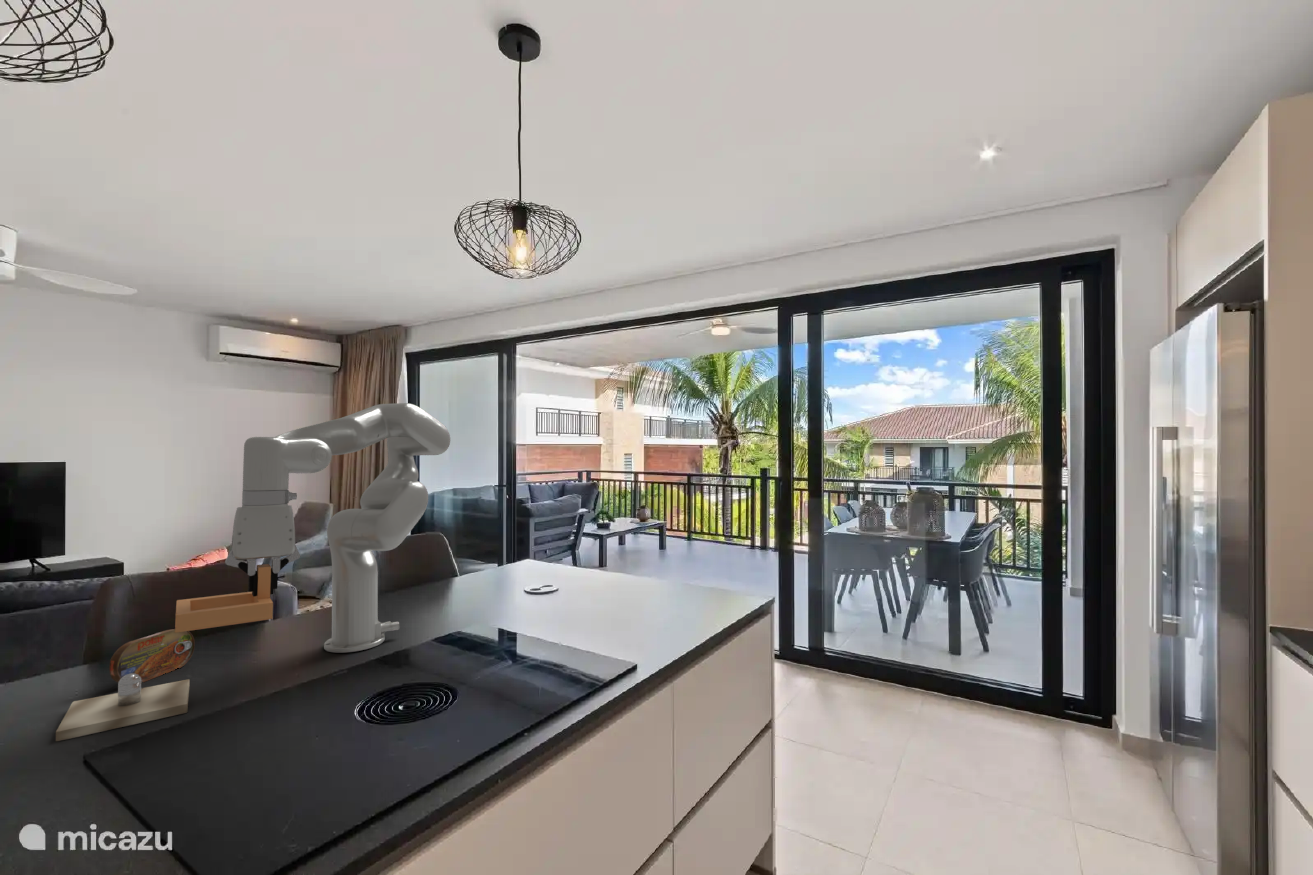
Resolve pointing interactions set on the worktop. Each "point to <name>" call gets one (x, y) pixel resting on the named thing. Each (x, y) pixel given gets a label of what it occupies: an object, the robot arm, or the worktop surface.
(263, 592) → the orange walled frame piece
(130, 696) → the post
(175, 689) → the board
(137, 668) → the tin
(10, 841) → the worktop surface
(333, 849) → the worktop surface
